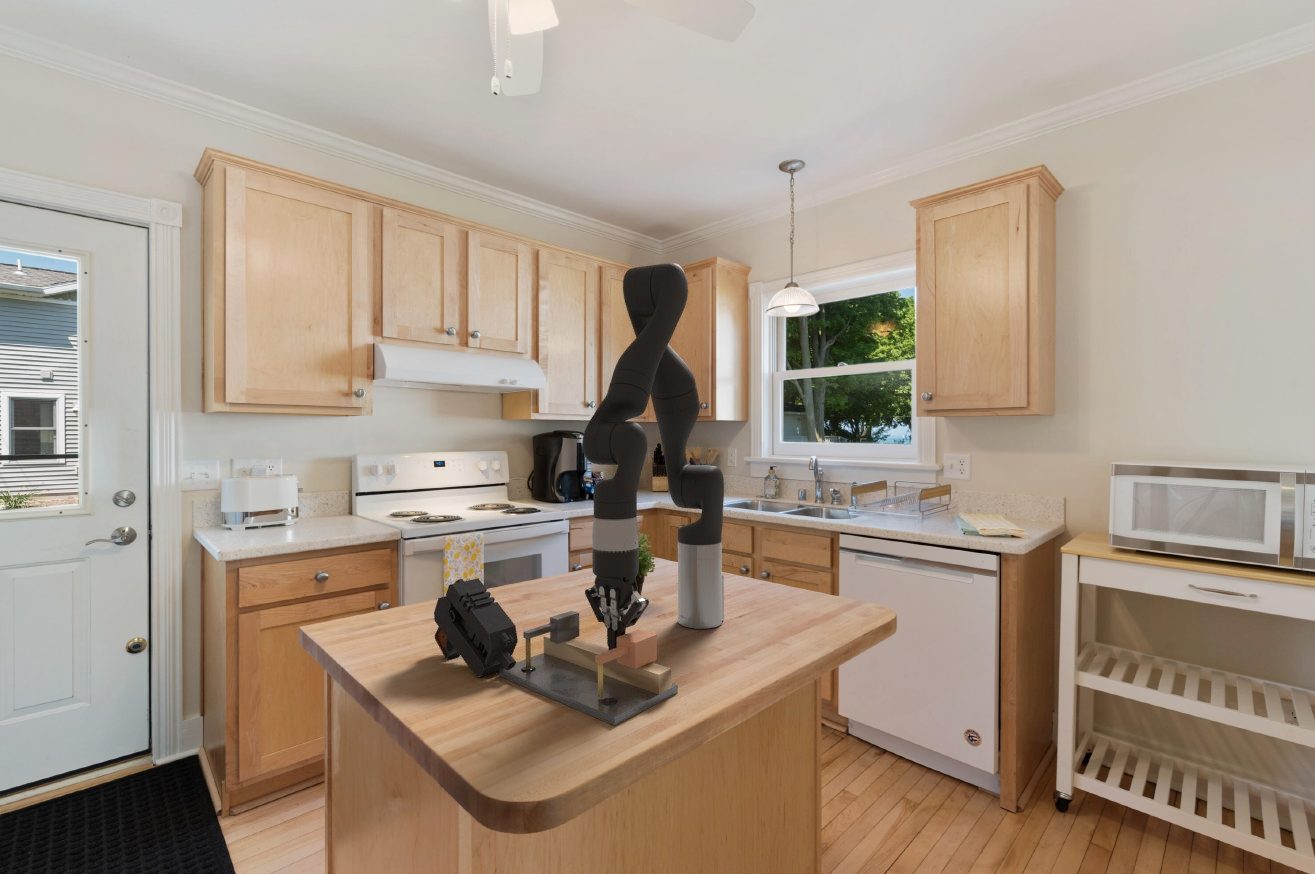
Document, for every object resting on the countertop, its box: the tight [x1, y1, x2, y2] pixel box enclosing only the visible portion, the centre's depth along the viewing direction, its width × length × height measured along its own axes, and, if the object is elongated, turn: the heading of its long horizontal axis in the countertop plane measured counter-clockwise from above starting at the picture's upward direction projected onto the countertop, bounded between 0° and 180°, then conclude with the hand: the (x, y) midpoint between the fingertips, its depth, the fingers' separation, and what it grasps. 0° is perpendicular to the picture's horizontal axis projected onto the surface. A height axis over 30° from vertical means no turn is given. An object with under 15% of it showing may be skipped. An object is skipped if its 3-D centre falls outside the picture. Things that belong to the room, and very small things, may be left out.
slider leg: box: [595, 629, 658, 697], centre depth 96 cm, size 11×4×7 cm, turn 139°
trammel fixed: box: [522, 610, 673, 694], centre depth 101 cm, size 11×27×7 cm, turn 49°
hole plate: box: [498, 652, 679, 727], centre depth 100 cm, size 14×27×1 cm, turn 49°
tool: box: [433, 578, 519, 678], centre depth 108 cm, size 6×19×15 cm, turn 51°
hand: (616, 650), depth 101 cm, fingers closed
